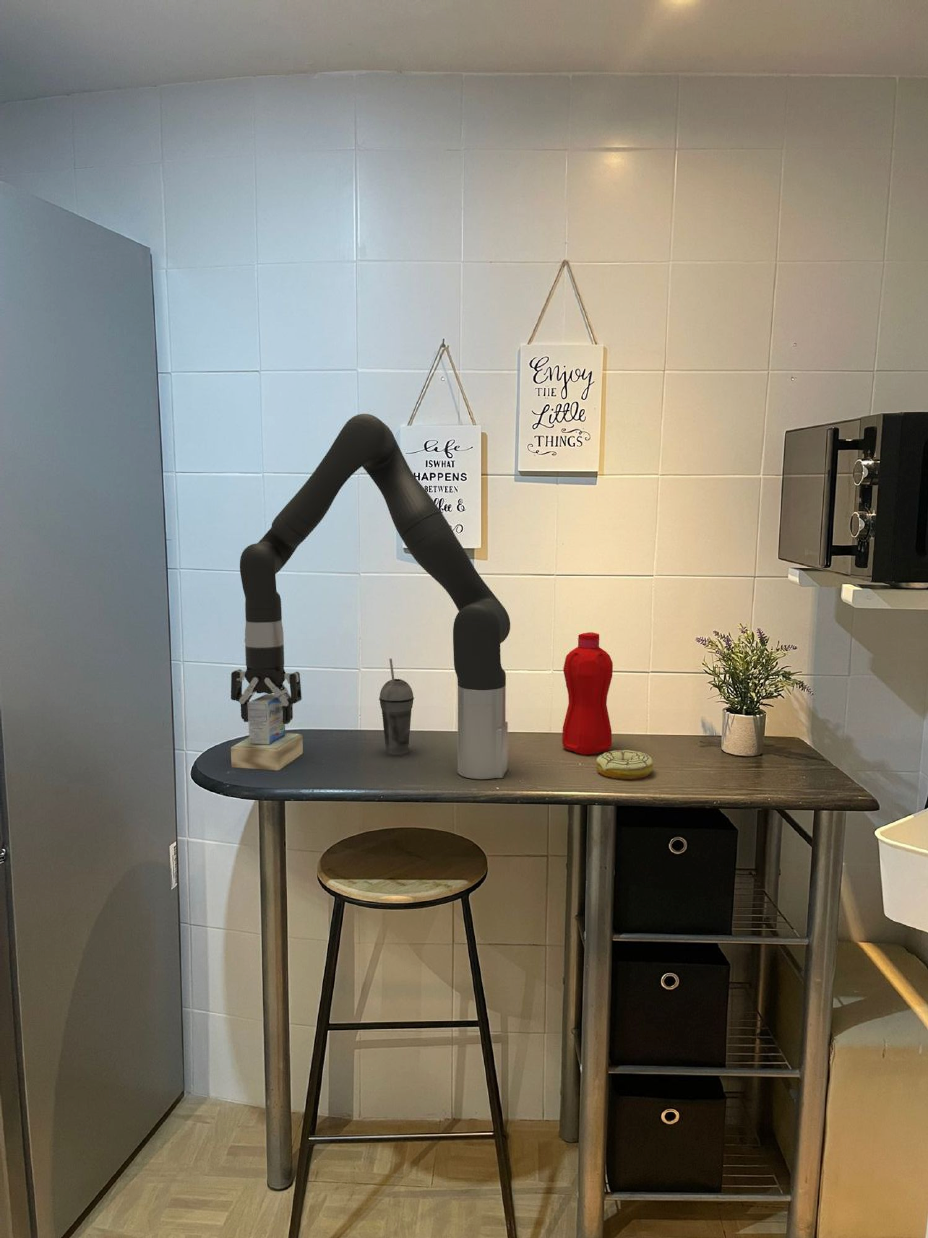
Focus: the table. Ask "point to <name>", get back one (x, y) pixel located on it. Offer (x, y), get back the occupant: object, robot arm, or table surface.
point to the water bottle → (587, 697)
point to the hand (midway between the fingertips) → (266, 722)
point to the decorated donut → (624, 764)
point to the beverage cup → (396, 714)
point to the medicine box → (265, 720)
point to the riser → (267, 753)
